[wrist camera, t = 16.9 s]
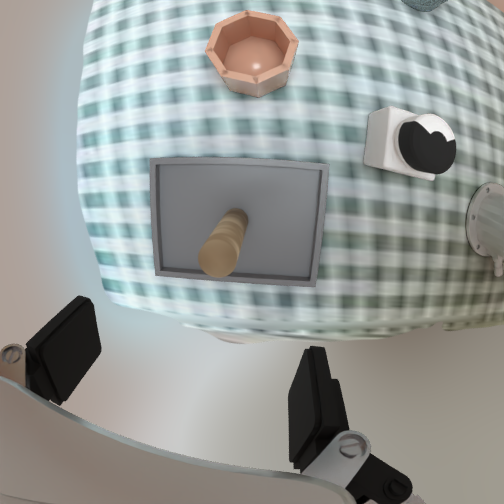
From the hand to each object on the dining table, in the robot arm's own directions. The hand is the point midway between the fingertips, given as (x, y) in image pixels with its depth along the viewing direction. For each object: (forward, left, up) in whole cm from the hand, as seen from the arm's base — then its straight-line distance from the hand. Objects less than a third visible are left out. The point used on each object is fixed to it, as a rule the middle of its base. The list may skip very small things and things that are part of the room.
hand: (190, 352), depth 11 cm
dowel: (0, +1, -26) cm, 26 cm away
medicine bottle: (0, -22, -27) cm, 34 cm away
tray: (0, +1, -27) cm, 27 cm away
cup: (+17, -11, -27) cm, 33 cm away
